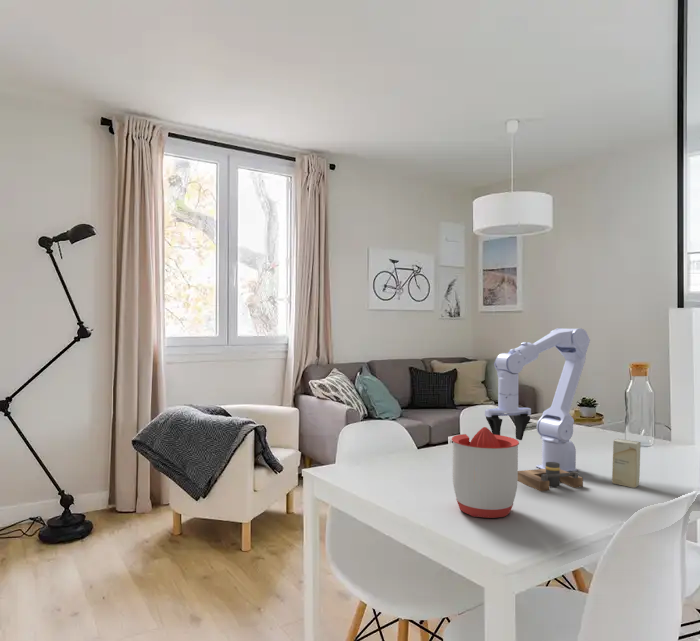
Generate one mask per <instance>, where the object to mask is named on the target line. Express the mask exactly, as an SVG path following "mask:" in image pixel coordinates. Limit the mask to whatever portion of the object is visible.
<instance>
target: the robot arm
mask: <svg viewBox="0 0 700 641" xmlns="http://www.w3.org/2000/svg"><path fill="white" fill-rule="evenodd" d="M590 341H591V339H590V336H589V334H588V332H587V331H586V330H585V329H584V328H582V327H581V328H580V327H578V328H562V327H557V328H555V329H553V330H550V332H549V333H548V334H546V335H545V336H543V337H541V338H540V339H537V341H535V342H528V341H527V342H526V341H523V342H521V343H520V345H519V346H518V347H515V348H511V349H509V351H508V352H501V353H499V354H498V355H497V356H496V358H495V360H494V362H493V365H494V369H495V371H496V375H497V379H498V383H497V384H498V385H497V387H498V389H497V390H498V391H497V392H498V394H497V397H498V398H497V401H498V404H497V407H495V408H488V409H487V408H486V409H484V416H485V419H486V421H487V423H488V425H489V427H490V431H491V432H492V433H493V435H501V429H502V428H501V427H502V423H503V418H500V417H504V416H505V417H506V416H507V417H508V416H509V417H510V416H513V421H514V425H515V439H516V440H518V441H523V437H524V434H525V430H526V428H527V426H528V424H529V422H530V421H531V415H532V408H531V407H519V377H520V376H519V373H521V372H522V371H523V369H524V367H525V366H526V365H529V364H530V363H532V362H534V361H536V360H538V359H539V356H540V353H544V352H545V351H547V350H550V349H552V348H556V350H557V351H558V352H559V353H560V355H561V356H562V357H563V358H564V360H565V361H564V364H563V368H562V370H561V374H560V377H559V380H558V383H557V386H556V390H555V393H554V396H553V400H552V403H551V406H550V407H548V408H547V409H544V411H542V415H541V416H540V418H539V419H538V420H537V423H536V431H537V433H538V435H539V436H540V439H541V464H536V465H535V467H536V468H538V469H546V462H556V463H559V464H560V469H561V470H564V471H566V472H569V473H571V472H573V471H576V472H578V469H577V468H576V465H577V464H576V461H577V459H576V458H577V457H576V454H577V453H576V452H577V450H576V446H575V443H574V442H573V441H572V440H571V439H572V437H573V434H574V423H575V420H574V417H573V416H572V415H571V414H570V410H571V407H572V404H573V402H574V398H575V395H576V393H577V392H576V391H577V389H578V388H577V387H578V386H579V381H580V378H581V377H582V376H581V375H582V373H583V370H584V366H585V363H586V360H587V359H586V356H587V352H588V348H589V345H590V343H591V342H590Z"/></svg>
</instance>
